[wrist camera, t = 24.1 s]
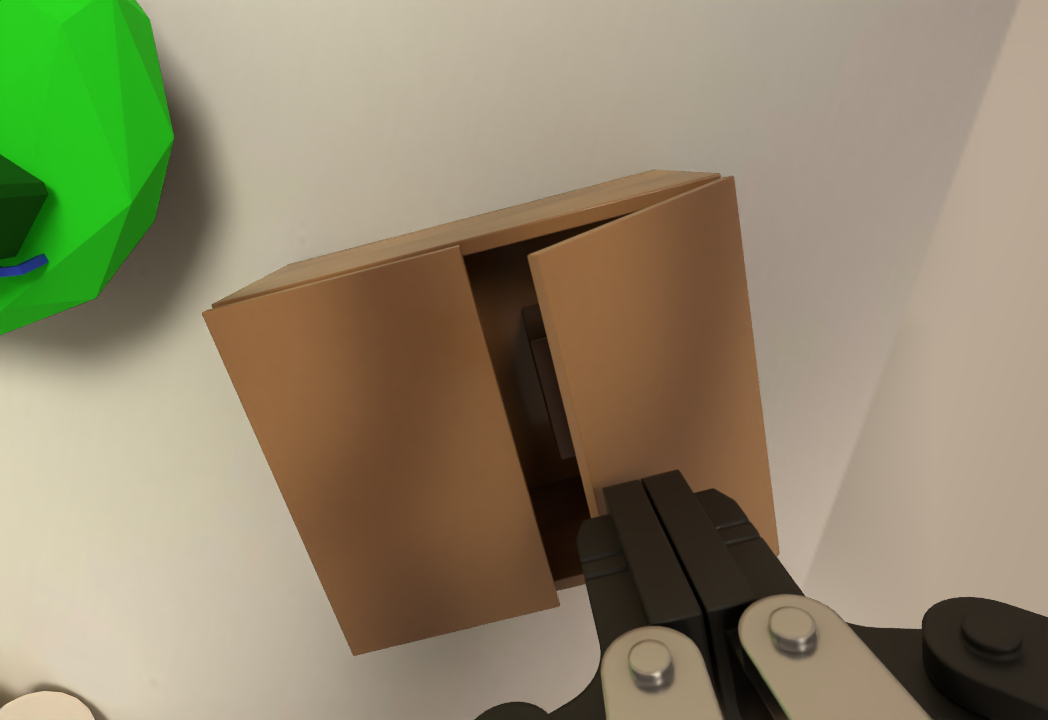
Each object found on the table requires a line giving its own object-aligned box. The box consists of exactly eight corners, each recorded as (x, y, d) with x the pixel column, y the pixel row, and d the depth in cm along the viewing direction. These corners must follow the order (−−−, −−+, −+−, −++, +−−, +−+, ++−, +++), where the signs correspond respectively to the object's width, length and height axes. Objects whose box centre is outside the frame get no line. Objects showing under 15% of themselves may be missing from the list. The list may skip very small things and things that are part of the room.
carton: (654, 169, 20) (732, 173, 13) (700, 449, 23) (779, 555, 17) (287, 264, 20) (197, 312, 14) (387, 526, 23) (351, 658, 17)
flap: (722, 177, 14) (734, 175, 13) (770, 550, 17) (780, 554, 17) (525, 254, 10) (537, 254, 10) (635, 703, 14) (645, 710, 13)
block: (632, 278, 20) (665, 304, 17) (652, 381, 22) (687, 428, 18) (520, 307, 21) (528, 341, 17) (548, 409, 22) (560, 461, 18)
